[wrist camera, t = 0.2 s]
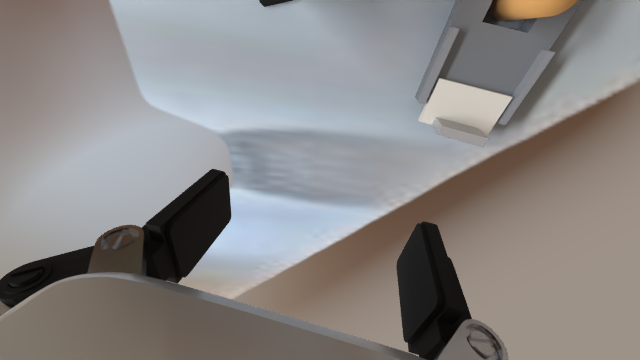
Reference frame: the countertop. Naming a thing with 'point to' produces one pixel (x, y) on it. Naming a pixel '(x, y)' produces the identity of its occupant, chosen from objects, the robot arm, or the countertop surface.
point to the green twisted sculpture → (271, 2)
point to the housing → (493, 53)
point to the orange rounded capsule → (528, 8)
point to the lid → (463, 111)
